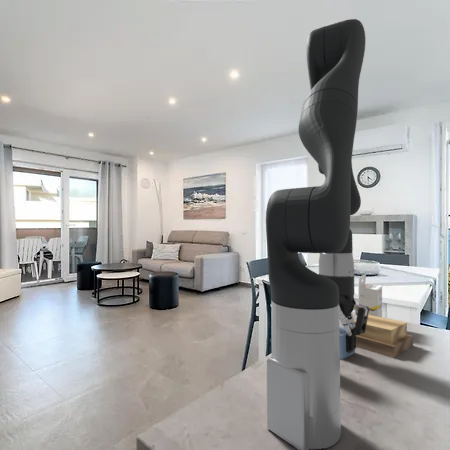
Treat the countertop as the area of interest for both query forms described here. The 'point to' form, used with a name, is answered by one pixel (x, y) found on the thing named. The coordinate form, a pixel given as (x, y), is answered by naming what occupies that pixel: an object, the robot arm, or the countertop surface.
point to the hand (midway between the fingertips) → (337, 347)
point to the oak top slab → (384, 329)
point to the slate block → (343, 343)
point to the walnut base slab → (385, 345)
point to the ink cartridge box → (370, 297)
